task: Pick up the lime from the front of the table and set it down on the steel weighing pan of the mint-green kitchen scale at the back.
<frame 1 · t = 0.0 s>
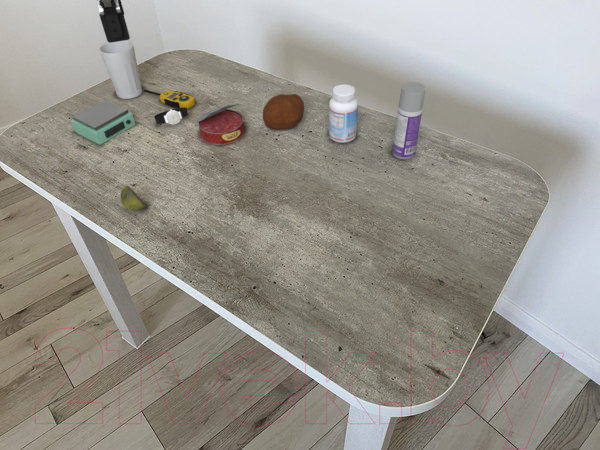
hand: (116, 28, 74), 31 cm above the table, tool pointing down, fingers open, 9 cm apart
lime: (136, 208, 91), on the table
watch: (172, 121, 113), on the table
cup: (129, 93, 123), on the table
pill bottle: (342, 136, 107), on the table
container: (403, 153, 102), on the table
scale: (105, 128, 111), on the table
scale pan: (100, 114, 108), point 4 cm above the table, slide at 0.0 cm
potato: (284, 126, 110), on the table
canned food: (222, 133, 109), on the table
yellow walkie talkie: (168, 100, 119), on the table
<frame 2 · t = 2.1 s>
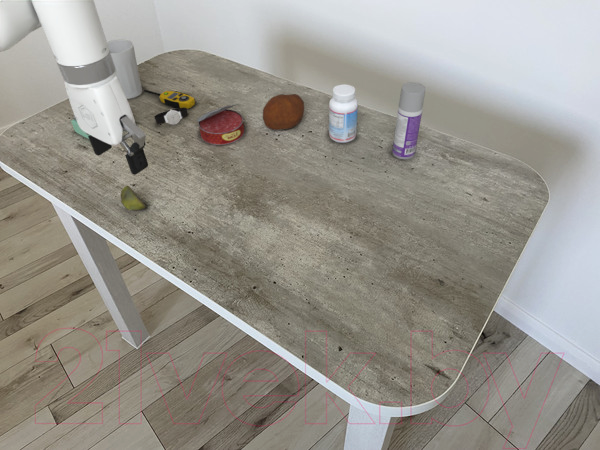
hand: (121, 160, 83), 11 cm above the table, tool pointing down, fingers open, 9 cm apart
nothing on the table moved.
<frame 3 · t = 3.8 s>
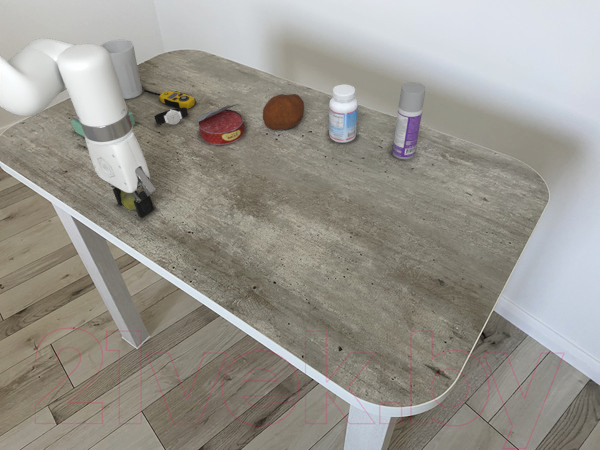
hand: (136, 206, 91), 0 cm above the table, tool pointing down, fingers closed on lime, 5 cm apart
lime: (136, 208, 91), on the table, touching gripper
everything else where it was.
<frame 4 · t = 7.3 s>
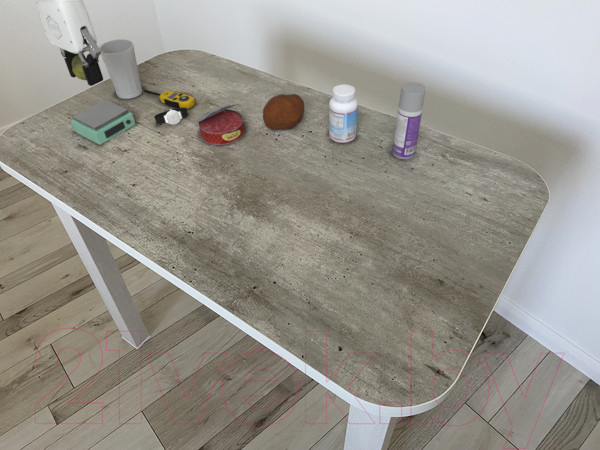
hand: (87, 77, 96), 15 cm above the table, tool pointing down, fingers closed on lime, 5 cm apart
lime: (88, 80, 97), point 15 cm above the table, touching gripper
everything else where it was.
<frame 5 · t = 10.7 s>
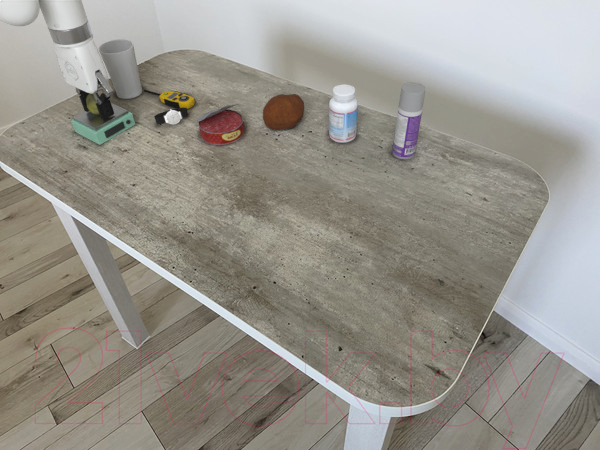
hand: (99, 112, 108), 4 cm above the table, tool pointing down, fingers closed on lime, 5 cm apart
lime: (100, 114, 108), point 4 cm above the table, touching gripper, scale pan
scale pan: (101, 115, 108), point 3 cm above the table, slide at -0.2 cm, touching lime, scale
everything else where it was.
when the fingers open (4 cm above the table, at t = 10.7 s): lime stays where it is, resting on scale pan.
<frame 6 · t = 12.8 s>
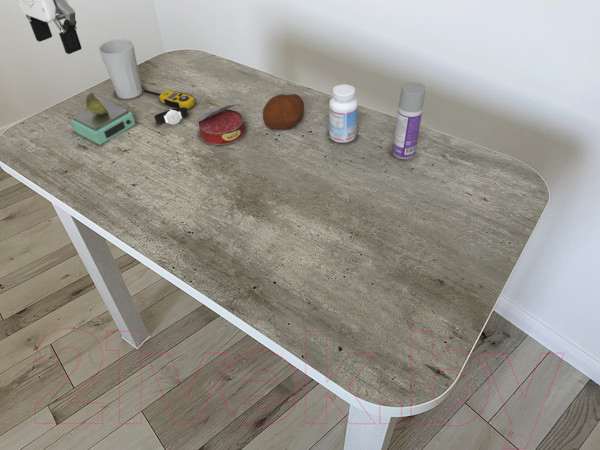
hand: (59, 45, 96), 20 cm above the table, tool pointing down, fingers open, 9 cm apart
lime: (100, 114, 108), point 4 cm above the table, touching scale pan
everything else where it was.
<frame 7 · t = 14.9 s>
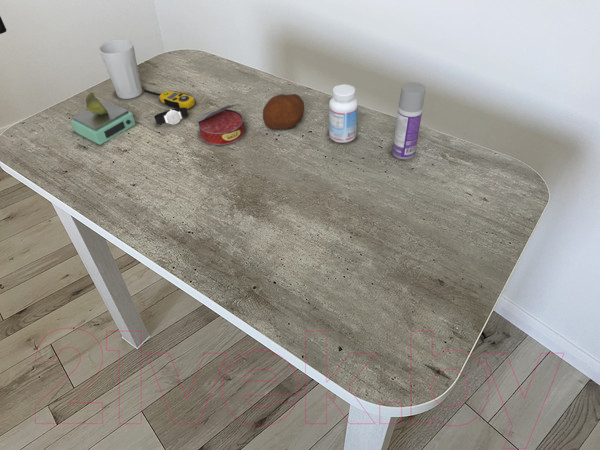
nothing on the table moved.
at the end: lime inside the target area on the scale (0.1 cm from its centre), point 3.6 cm above the scale's base; the gripper is holding nothing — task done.
